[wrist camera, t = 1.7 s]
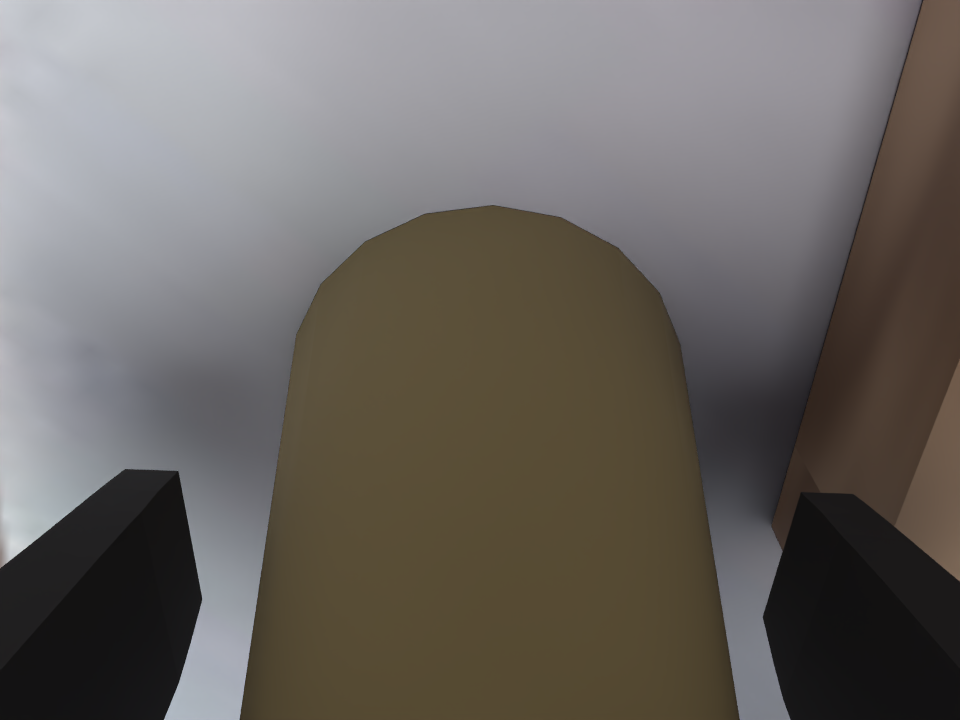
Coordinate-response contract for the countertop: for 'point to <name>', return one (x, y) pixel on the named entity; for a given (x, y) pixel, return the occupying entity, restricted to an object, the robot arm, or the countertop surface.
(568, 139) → the countertop surface
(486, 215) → the olive rounded peg
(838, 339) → the socket block
